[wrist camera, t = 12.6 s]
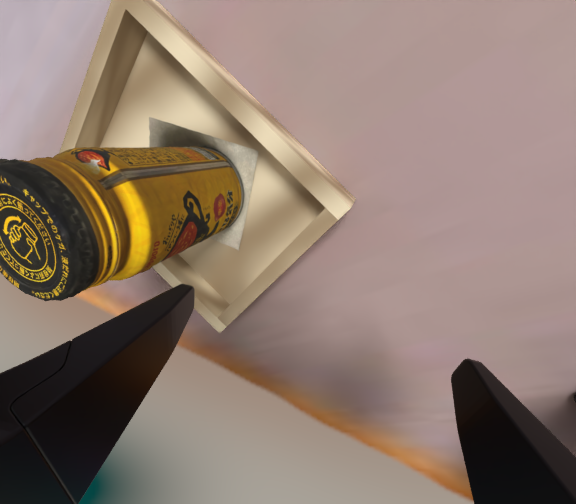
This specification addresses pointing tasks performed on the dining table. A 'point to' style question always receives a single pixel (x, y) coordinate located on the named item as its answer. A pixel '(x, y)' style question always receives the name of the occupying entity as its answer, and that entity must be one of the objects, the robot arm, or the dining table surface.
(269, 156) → the tray
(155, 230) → the condiment
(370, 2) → the dining table surface
